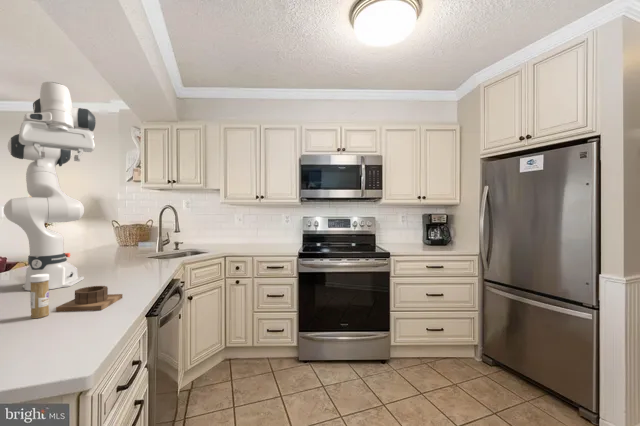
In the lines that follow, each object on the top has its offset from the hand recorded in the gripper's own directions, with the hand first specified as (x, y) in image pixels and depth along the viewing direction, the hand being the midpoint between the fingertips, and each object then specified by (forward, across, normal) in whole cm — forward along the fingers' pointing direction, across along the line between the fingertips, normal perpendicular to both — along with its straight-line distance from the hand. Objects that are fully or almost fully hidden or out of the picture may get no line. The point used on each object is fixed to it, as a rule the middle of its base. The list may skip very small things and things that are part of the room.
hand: (60, 159), depth 105 cm
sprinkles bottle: (+52, +6, -10) cm, 53 cm away
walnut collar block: (+51, -8, -12) cm, 53 cm away
